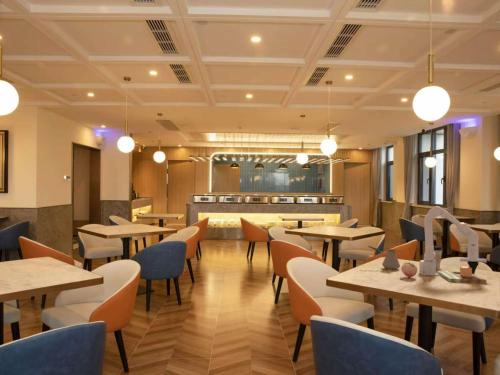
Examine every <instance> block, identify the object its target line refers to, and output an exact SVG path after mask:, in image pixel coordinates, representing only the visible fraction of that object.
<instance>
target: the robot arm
mask: <svg viewBox="0 0 500 375" xmlns="http://www.w3.org/2000/svg"><path fill="white" fill-rule="evenodd" d="M439 216H440V218H445V219H447V221H449V222H450V223H452V224H453V225H455V226H456V230H457V231H458V232H460V233H461V234H462V235H464V237H466V238H467V242H468V243H467V257H459V262H462V263H463V262H464V263H465V262H467V264H468V267H470V268H472V274H475V275H476V270H477V268H478V266H479V264H480V263H487V259H486V258H479V238H480V236H479V233H477V232H476V231H475V229H472V228H471V227H470V226H468V223H466V222H460V220H458V219H457V218H455V217H454V216H453V215H452V214H451V213H450V212H449V211H447V210H446V209H445V208H442V207H441V206H438V205H435V206H433V207H431V208H430V209H429V210H428V211H427V213H426V215H425V216H424V219H423V220H424V222H423V223H424V224H423V226H424V244H425V247H424V248H425V249H424V254H423V260H419V266H418V267H419V268H418V271H419V272H418V273H419V274H420V275H421V276H432V277H437V276H438V275H439V274H438V273H437V271H436V270H437V269H436V260H435V259H434V258H435V256H436V253H435V251H434V247H433V246H434V236H433V235H434V234H433V232H434V231H433V230H434V229H433V221H434V220H435V219H436V218H438V217H439Z"/></svg>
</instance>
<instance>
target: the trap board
mask: <svg viewBox="0 0 500 375" xmlns="http://www.w3.org/2000/svg"><path fill="white" fill-rule="evenodd" d="M437 275H439V276H441V278H443V279H445V280H447V281H448V282H449V283H467V284H483V285H484V284H485V285H486V284H487V279H485V278H483V277H481V276H479V275H477V274H476V273H475V274H472V276H462V275H460V271H450V270H449V271H448V270H447V271H445V270H437Z"/></svg>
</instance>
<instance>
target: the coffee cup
mask: <svg viewBox="0 0 500 375" xmlns="http://www.w3.org/2000/svg"><path fill="white" fill-rule="evenodd" d="M433 247H434V251H435V253H436V256H435V258H434V259H435V260H436V270H439V269H440V268H441V262H442V256H443V255H442V253H443V248H442V246H439V245H433Z"/></svg>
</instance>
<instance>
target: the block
mask: <svg viewBox="0 0 500 375" xmlns="http://www.w3.org/2000/svg"><path fill="white" fill-rule="evenodd" d="M459 272H460V275H462V276H472V268H470V267H469V266H464V265H463V266H459Z"/></svg>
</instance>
